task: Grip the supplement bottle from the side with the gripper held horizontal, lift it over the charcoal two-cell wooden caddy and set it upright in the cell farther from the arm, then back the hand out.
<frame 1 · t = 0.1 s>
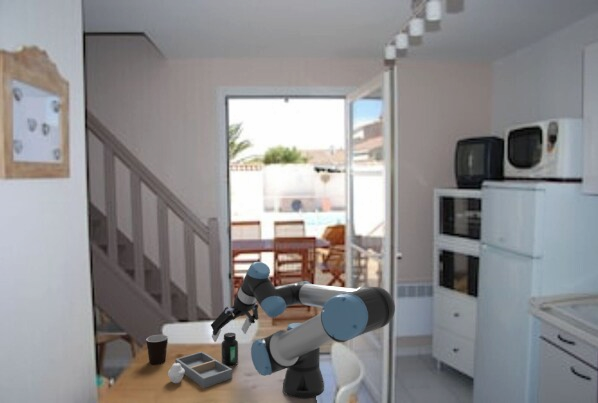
hand: (229, 335, 166), 15 cm above the table, tool tilted 35°, fingers open, 13 cm apart
supplement bottle: (229, 363, 176), on the table
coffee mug: (159, 360, 179), on the table
white lumpy chunk: (176, 381, 160), on the table
caddy: (203, 372, 167), on the table
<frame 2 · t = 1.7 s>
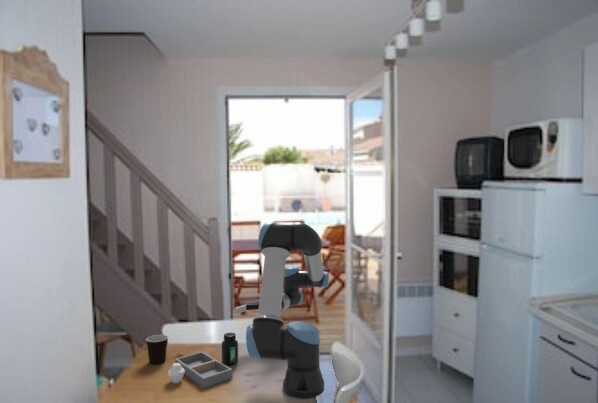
hand: (245, 314, 183), 18 cm above the table, tool horizontal, fingers open, 13 cm apart
nothing on the table moved.
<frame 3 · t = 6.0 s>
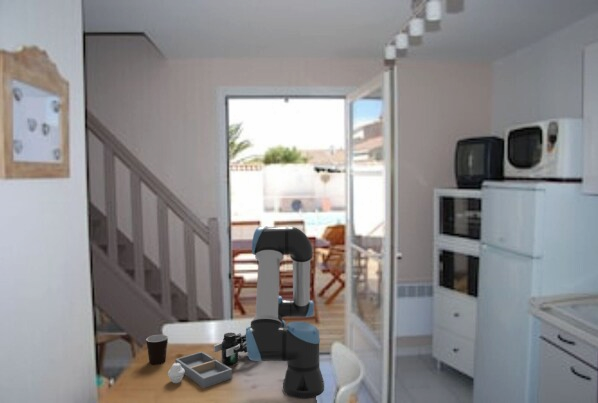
hand: (220, 351, 172), 7 cm above the table, tool horizontal, fingers closed on supplement bottle, 7 cm apart
supplement bottle: (229, 363, 176), on the table, touching gripper
everything else where it was.
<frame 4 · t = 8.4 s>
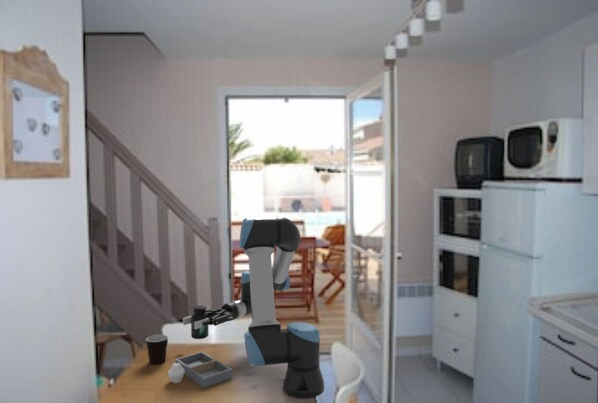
hand: (189, 323, 168), 19 cm above the table, tool horizontal, fingers closed on supplement bottle, 7 cm apart
supplement bottle: (199, 336, 172), point 12 cm above the table, touching gripper
everything else where it was.
when the fingers open (8 cm above the table, at t = 10.9 s): supplement bottle drops 1 cm, resting on caddy.
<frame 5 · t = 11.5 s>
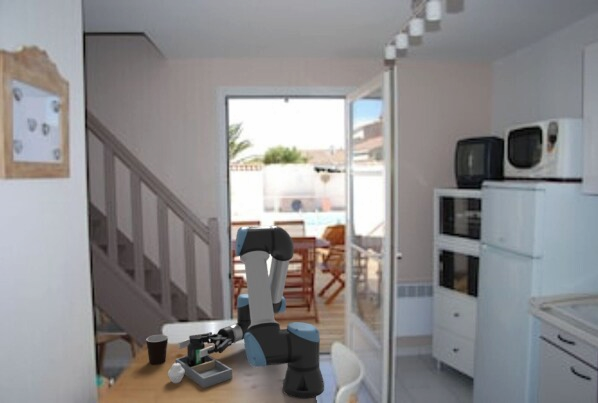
hand: (189, 349, 168), 8 cm above the table, tool horizontal, fingers open, 13 cm apart
supplement bottle: (196, 366, 171), point 1 cm above the table, touching caddy
everything else where it was.
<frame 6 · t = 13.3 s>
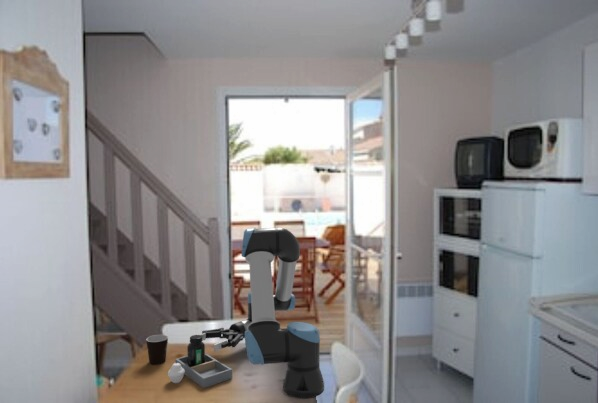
hand: (203, 344, 174), 9 cm above the table, tool horizontal, fingers open, 13 cm apart
nothing on the table moved.
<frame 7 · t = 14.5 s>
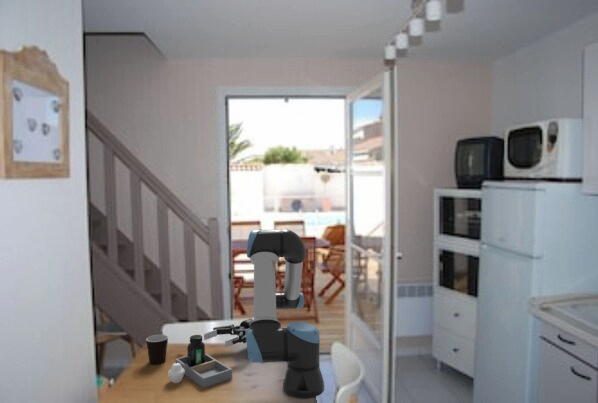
hand: (214, 340, 178), 9 cm above the table, tool horizontal, fingers open, 13 cm apart
nothing on the table moved.
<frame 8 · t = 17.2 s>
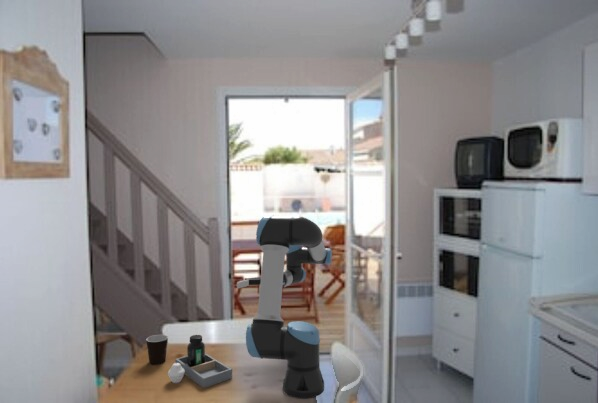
hand: (248, 287, 182), 30 cm above the table, tool horizontal, fingers open, 13 cm apart
nothing on the table moved.
at the end: supplement bottle 0.1 cm from the target spot on the caddy, point 0.6 cm above the caddy's base; supplement bottle tilted 0°; the gripper is holding nothing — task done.
